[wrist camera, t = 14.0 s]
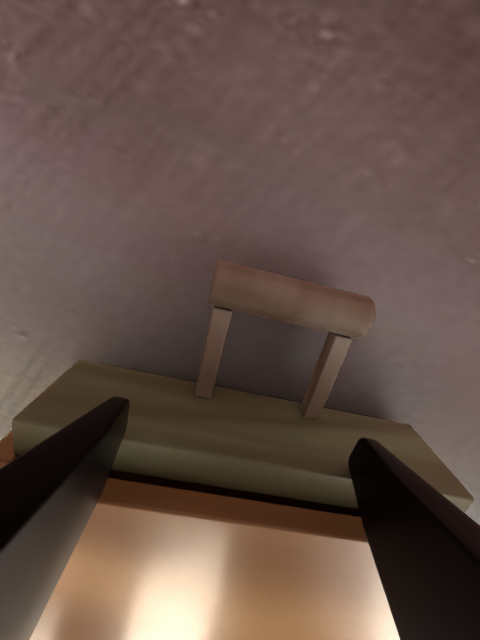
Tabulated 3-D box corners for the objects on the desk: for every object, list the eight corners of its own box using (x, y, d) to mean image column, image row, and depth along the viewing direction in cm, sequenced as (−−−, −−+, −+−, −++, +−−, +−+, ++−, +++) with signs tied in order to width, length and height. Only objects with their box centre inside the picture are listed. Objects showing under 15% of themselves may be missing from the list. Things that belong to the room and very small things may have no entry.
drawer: (87, 224, 8) (1, 225, 5) (467, 318, 10) (579, 364, 6) (69, 572, 14) (22, 671, 11) (308, 601, 15) (327, 696, 12)
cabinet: (74, 371, 11) (-44, 480, 6) (399, 434, 12) (498, 560, 8) (64, 578, 15) (-8, 730, 11) (302, 605, 17) (329, 750, 12)
